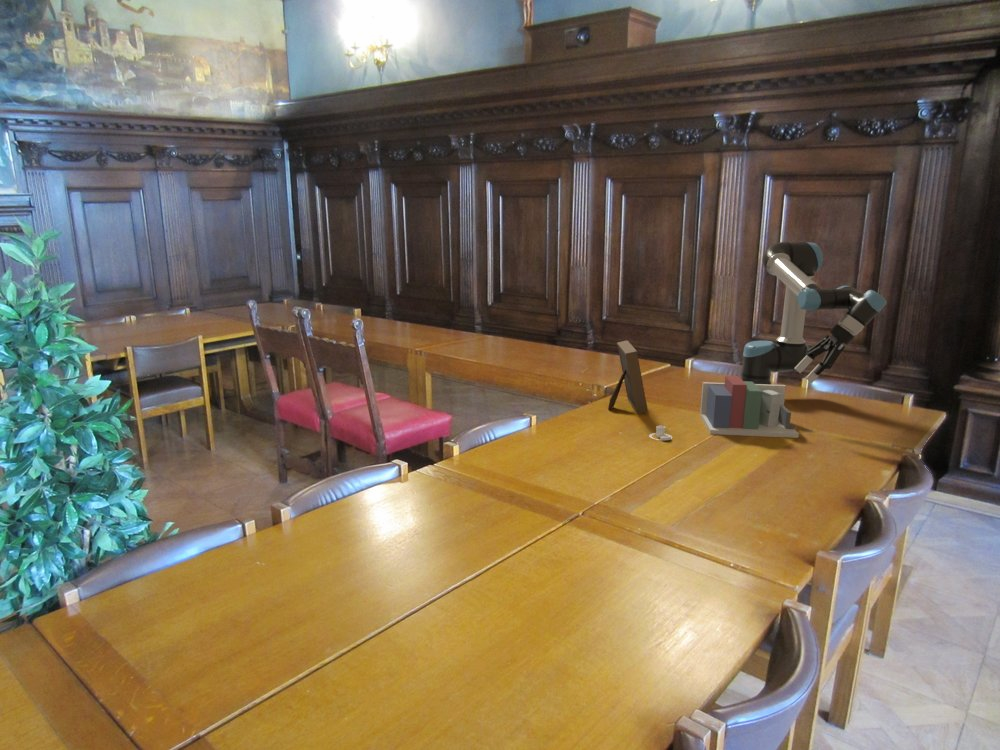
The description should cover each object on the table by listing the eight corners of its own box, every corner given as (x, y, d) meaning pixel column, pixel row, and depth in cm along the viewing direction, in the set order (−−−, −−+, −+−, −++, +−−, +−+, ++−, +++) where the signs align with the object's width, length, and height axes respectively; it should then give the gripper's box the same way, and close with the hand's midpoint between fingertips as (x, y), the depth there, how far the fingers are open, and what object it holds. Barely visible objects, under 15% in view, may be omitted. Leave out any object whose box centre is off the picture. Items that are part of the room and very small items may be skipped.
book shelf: (700, 416, 258) (703, 372, 254) (780, 419, 255) (785, 374, 250) (710, 434, 237) (714, 386, 233) (798, 437, 234) (804, 389, 230)
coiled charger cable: (672, 443, 229) (673, 432, 228) (648, 441, 231) (649, 430, 230) (671, 435, 237) (672, 424, 236) (648, 433, 239) (649, 422, 238)
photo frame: (637, 399, 281) (641, 340, 275) (647, 414, 260) (651, 351, 254) (602, 398, 282) (605, 340, 276) (609, 413, 261) (612, 350, 255)
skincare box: (757, 422, 246) (760, 390, 243) (767, 421, 247) (770, 389, 245) (768, 427, 240) (771, 394, 238) (778, 426, 242) (782, 393, 239)
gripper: (868, 344, 223) (821, 391, 229) (841, 329, 247) (800, 373, 253) (850, 330, 222) (804, 378, 229) (826, 317, 246) (785, 361, 252)
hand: (802, 375), depth 241 cm, fingers open, 13 cm apart
